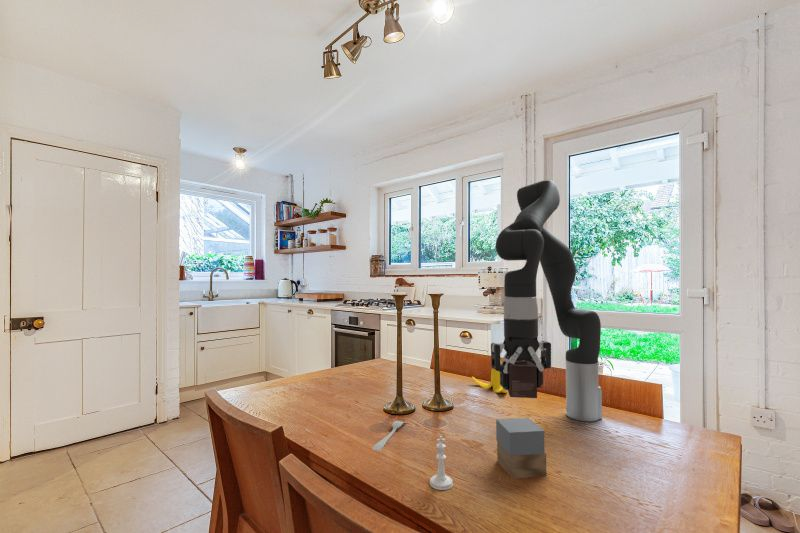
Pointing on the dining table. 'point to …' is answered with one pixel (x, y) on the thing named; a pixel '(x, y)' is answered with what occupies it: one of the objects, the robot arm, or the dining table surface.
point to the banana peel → (492, 382)
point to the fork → (381, 443)
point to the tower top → (520, 436)
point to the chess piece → (441, 470)
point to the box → (523, 379)
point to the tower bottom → (522, 464)
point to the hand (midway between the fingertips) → (521, 387)
